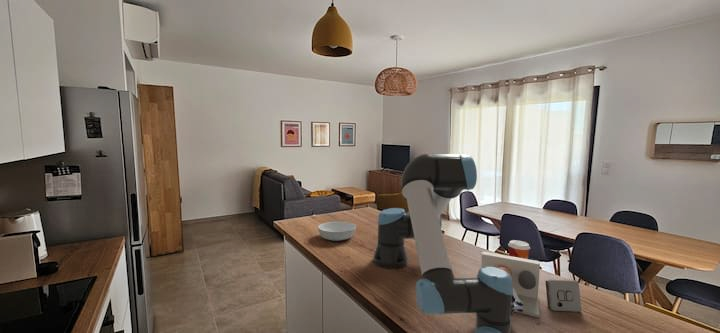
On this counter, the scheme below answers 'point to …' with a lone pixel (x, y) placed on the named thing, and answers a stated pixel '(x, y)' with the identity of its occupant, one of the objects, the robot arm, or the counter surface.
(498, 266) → the knob
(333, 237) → the serving bowl
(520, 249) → the paper cup
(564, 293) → the electrical switch
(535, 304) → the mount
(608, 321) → the counter surface
